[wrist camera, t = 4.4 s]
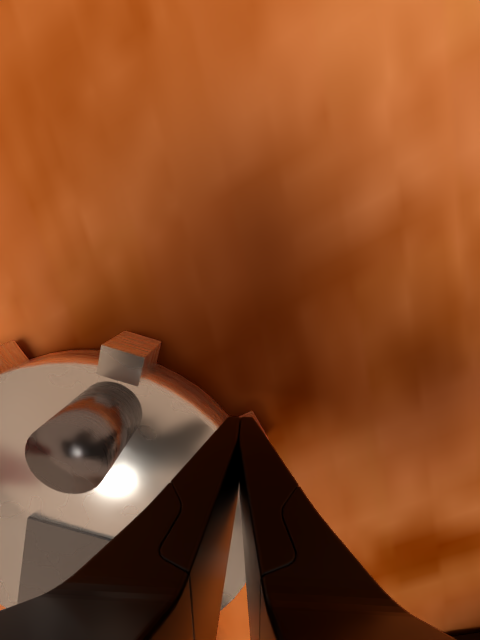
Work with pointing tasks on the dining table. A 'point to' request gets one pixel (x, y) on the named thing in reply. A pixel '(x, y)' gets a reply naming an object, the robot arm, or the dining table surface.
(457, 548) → the dining table surface
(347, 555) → the robot arm
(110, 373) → the sprocket
